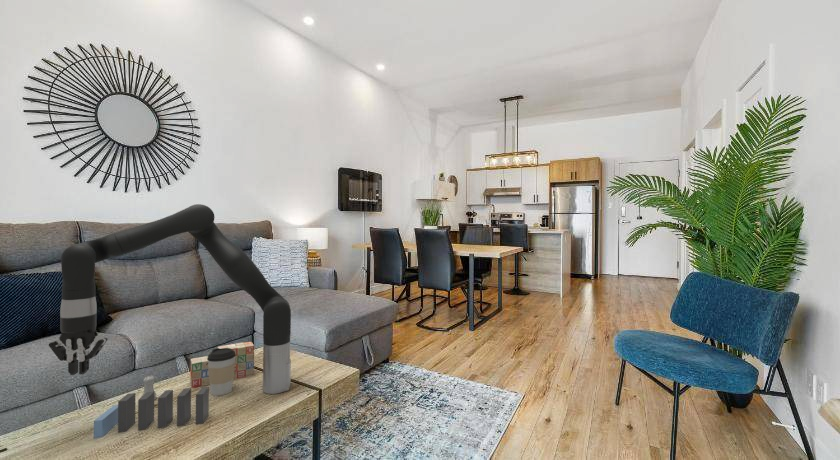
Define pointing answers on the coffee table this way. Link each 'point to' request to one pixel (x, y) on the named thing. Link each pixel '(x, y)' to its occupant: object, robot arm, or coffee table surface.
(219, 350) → the coffee cup
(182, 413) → the domino
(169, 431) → the coffee table surface
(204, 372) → the stack of blocks
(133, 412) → the domino
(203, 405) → the domino
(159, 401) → the domino
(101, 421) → the tile
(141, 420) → the domino
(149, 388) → the rook chess piece
